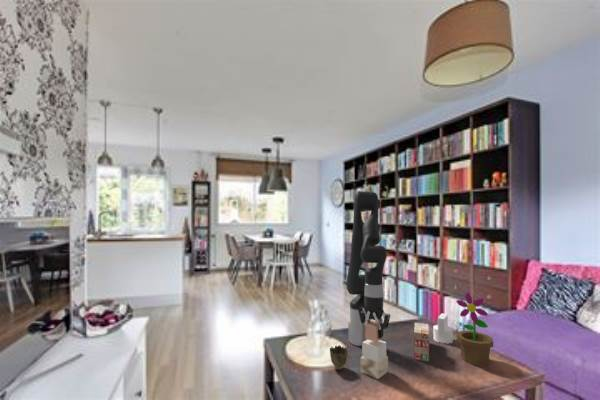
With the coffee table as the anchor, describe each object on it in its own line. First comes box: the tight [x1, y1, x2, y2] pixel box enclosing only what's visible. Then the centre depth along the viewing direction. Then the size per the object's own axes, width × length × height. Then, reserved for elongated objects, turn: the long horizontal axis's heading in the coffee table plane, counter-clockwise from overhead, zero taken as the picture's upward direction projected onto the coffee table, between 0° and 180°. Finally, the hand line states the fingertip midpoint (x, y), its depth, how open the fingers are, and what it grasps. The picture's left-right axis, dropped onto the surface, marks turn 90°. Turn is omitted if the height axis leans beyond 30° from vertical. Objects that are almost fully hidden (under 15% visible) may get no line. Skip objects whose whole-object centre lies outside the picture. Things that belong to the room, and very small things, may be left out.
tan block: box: [365, 320, 384, 342], centre depth 130 cm, size 5×5×6 cm
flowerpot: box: [455, 292, 494, 367], centre depth 139 cm, size 14×14×30 cm
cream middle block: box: [361, 339, 387, 363], centre depth 129 cm, size 7×7×6 cm
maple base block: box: [359, 355, 389, 380], centre depth 129 cm, size 8×8×6 cm
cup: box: [329, 345, 348, 371], centre depth 132 cm, size 8×7×8 cm
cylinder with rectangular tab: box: [432, 313, 454, 345], centre depth 161 cm, size 9×9×12 cm
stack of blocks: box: [413, 322, 430, 363], centre depth 149 cm, size 21×6×12 cm, turn 159°
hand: (374, 335), depth 129 cm, fingers closed on tan block, 5 cm apart
